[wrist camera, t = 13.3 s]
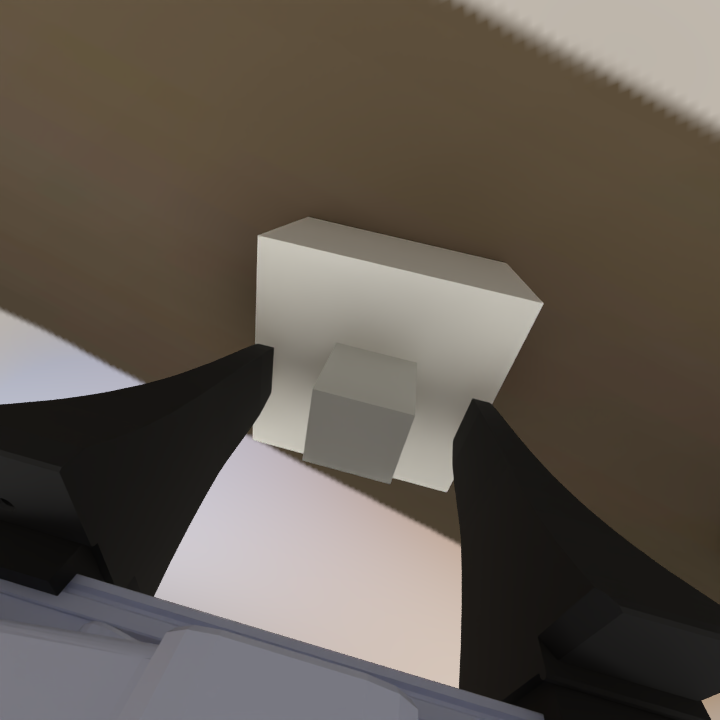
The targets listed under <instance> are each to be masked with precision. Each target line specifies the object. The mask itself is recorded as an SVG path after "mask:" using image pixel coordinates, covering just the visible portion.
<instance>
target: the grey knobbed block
mask: <svg viewBox="0 0 720 720" xmlns="http://www.w3.org/2000/svg"><path fill="white" fill-rule="evenodd" d="M543 304H544V303H543V302H542V301H541V300H540V299H539V298H538V297H537V296H536V295H535V294H534V292H533V291H532V290H531V289H530V288H529V287H528V286H527V285H526V284H525V283H524V282H523V281H522V279H521V278H520V277H519V276H518V275H517V274H516V273H515V272H514V271H513V270H512V269H511V268H510V266H509V265H508V264H507V263H504V262H500V261H495V260H491V259H487V258H483V257H478V256H474V255H470V254H465V253H461V252H457V251H453V250H448V249H444V248H440V247H435V246H431V245H427V244H423V243H418V242H414V241H410V240H405V239H401V238H397V237H393V236H388V235H384V234H380V233H375V232H371V231H367V230H363V229H358V228H354V227H350V226H345V225H341V224H337V223H333V222H328V221H324V220H320V219H315V218H311V217H306V218H303V219H301V220H298V221H295V222H293V223H290V224H287V225H284V226H282V227H279V228H276V229H274V230H271V231H268V232H266V233H263V234H260V235H258V249H257V288H256V328H255V344H262V345H266V346H270V347H274V359H273V375H272V392H271V395H270V397H269V399H268V401H267V402H266V404H265V406H264V408H263V410H262V412H261V414H260V415H259V417H258V418H257V420H256V421H255V423H254V424H253V440H255V441H259V442H263V443H266V444H270V445H274V446H277V447H281V448H285V449H288V450H292V451H296V452H300V453H303V461H307V462H311V463H314V464H318V465H322V466H325V467H329V468H333V469H336V470H340V471H344V472H347V473H351V474H355V475H358V476H362V477H366V478H369V479H373V480H377V481H380V482H384V483H388V484H390V483H391V480H392V478H395V479H399V480H403V481H407V482H410V483H414V484H418V485H421V486H425V487H429V488H432V489H436V490H440V491H443V492H447V491H448V489H449V487H450V485H451V483H452V481H453V479H454V476H453V468H452V450H453V439H454V437H455V435H456V432H457V430H458V428H459V426H460V424H461V422H462V420H463V417H464V415H465V413H466V411H467V409H468V407H469V405H470V402H471V400H472V398H474V399H478V400H481V401H485V402H489V403H491V404H492V403H493V401H494V399H495V397H496V395H497V394H498V392H499V390H500V388H501V386H502V384H503V382H504V380H505V378H506V376H507V374H508V372H509V370H510V368H511V366H512V364H513V362H514V360H515V358H516V356H517V355H518V353H519V351H520V349H521V347H522V345H523V343H524V341H525V339H526V337H527V335H528V333H529V331H530V329H531V327H532V325H533V323H534V321H535V319H536V317H537V315H538V314H539V312H540V310H541V308H542V306H543Z"/></svg>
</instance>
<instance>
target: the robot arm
mask: <svg viewBox="0 0 720 720" xmlns="http://www.w3.org/2000/svg"><path fill="white" fill-rule="evenodd" d="M273 359H274V347H270V346H266V345H262V344H255V345H252V346H249V347H247V348H245V349H242V350H240V351H238V352H235V353H233V354H230V355H228V356H226V357H223V358H221V359H218V360H216V361H214V362H211V363H209V364H206V365H203V366H200V367H198V368H195V369H192V370H190V371H187V372H184V373H181V374H178V375H175V376H172V377H168V378H165V379H161V380H158V381H154V382H151V383H147V384H143V385H138V386H133V387H129V388H124V389H120V390H115V391H110V392H105V393H99V394H93V395H86V396H79V397H72V398H66V399H57V400H48V401H37V402H27V403H26V402H25V403H14V404H2V405H0V720H711V718H710V717H709V715H708V713H707V711H706V709H705V707H704V705H703V703H702V701H701V700H704V699H706V698H709V697H711V696H713V695H716V694H718V693H720V605H719V604H717V603H716V602H714V601H713V600H711V599H710V598H708V597H707V596H705V595H704V594H702V593H701V592H699V591H698V590H697V589H695V588H694V587H692V586H691V585H689V584H688V583H686V582H685V581H683V580H682V579H680V578H679V577H677V576H676V575H674V574H673V573H671V572H670V571H668V570H667V569H665V568H664V567H662V566H661V565H659V564H658V563H657V562H655V561H654V560H653V559H651V558H650V557H649V556H647V555H646V554H644V553H643V552H642V551H640V550H639V549H638V548H636V547H635V546H634V545H632V544H631V543H630V542H628V541H627V540H626V539H624V538H623V537H622V536H621V535H619V534H618V533H617V532H615V531H614V530H613V529H612V528H611V527H609V526H608V525H607V524H606V523H605V522H603V521H602V520H601V519H600V518H598V517H597V516H596V515H595V514H594V513H592V512H591V511H590V510H589V509H588V508H587V507H586V506H584V505H583V504H582V503H581V502H580V501H579V500H578V499H577V498H576V497H574V496H573V495H572V494H571V493H570V492H569V491H568V490H567V489H566V488H565V487H564V486H563V485H562V484H561V483H560V482H559V481H558V480H557V479H556V478H555V477H554V476H553V475H552V474H551V473H550V472H549V471H548V470H547V469H546V468H545V467H544V466H543V465H542V464H541V462H540V461H539V460H538V459H537V458H536V457H535V456H534V455H533V454H532V452H531V451H530V450H529V449H528V448H527V447H526V446H525V444H524V443H523V442H522V441H521V440H520V438H519V437H518V436H517V435H516V433H515V432H514V431H513V430H512V429H511V427H510V426H509V425H508V424H507V422H506V421H505V420H504V419H503V417H502V416H501V415H500V414H499V412H498V411H497V410H496V409H495V408H494V407H493V405H492V404H491V403H489V402H485V401H481V400H478V399H474V398H472V400H471V402H470V405H469V407H468V409H467V411H466V413H465V415H464V417H463V420H462V422H461V424H460V426H459V428H458V430H457V432H456V435H455V437H454V439H453V450H452V468H453V476H454V485H455V493H456V500H457V508H458V516H459V524H460V534H461V558H462V618H461V654H460V676H459V677H460V678H459V689H458V688H455V687H451V686H448V685H445V684H441V683H438V682H435V681H431V680H428V679H425V678H421V677H418V676H415V675H411V674H408V673H405V672H401V671H398V670H395V669H391V668H388V667H385V666H382V665H378V664H375V663H372V662H368V661H364V660H362V659H358V658H355V657H352V656H348V655H345V654H341V653H338V652H335V651H332V650H328V649H325V648H322V647H318V646H315V645H312V644H308V643H305V642H302V641H298V640H295V639H291V638H288V637H285V636H281V635H279V634H275V633H272V632H268V631H265V630H262V629H259V628H255V627H252V626H248V625H245V624H242V623H239V622H235V621H232V620H228V619H225V618H222V617H219V616H215V615H212V614H209V613H205V612H202V611H199V610H195V609H192V608H189V607H185V606H182V605H179V604H175V603H172V602H169V601H166V600H162V599H159V598H156V597H154V595H155V593H156V591H157V589H158V587H159V585H160V583H161V580H162V578H163V576H164V574H165V572H166V570H167V568H168V566H169V564H170V562H171V560H172V558H173V556H174V554H175V552H176V550H177V548H178V546H179V544H180V542H181V540H182V538H183V537H184V535H185V533H186V531H187V529H188V527H189V525H190V523H191V521H192V519H193V518H194V516H195V514H196V512H197V510H198V509H199V506H200V505H201V503H202V501H203V499H204V498H205V496H206V494H207V492H208V491H209V489H210V487H211V486H212V484H213V482H214V480H215V478H216V477H217V475H218V473H219V472H220V470H221V469H222V467H223V466H224V464H225V463H226V461H227V460H228V459H229V457H230V456H231V454H232V453H233V452H234V450H235V449H236V447H237V446H238V445H239V443H240V442H241V441H242V439H243V438H244V436H245V435H246V434H247V432H248V431H249V430H250V428H251V427H252V425H253V424H254V423H255V421H256V420H257V418H258V417H259V415H260V414H261V412H262V410H263V408H264V406H265V404H266V402H267V401H268V399H269V397H270V395H271V392H272V375H273Z"/></svg>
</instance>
